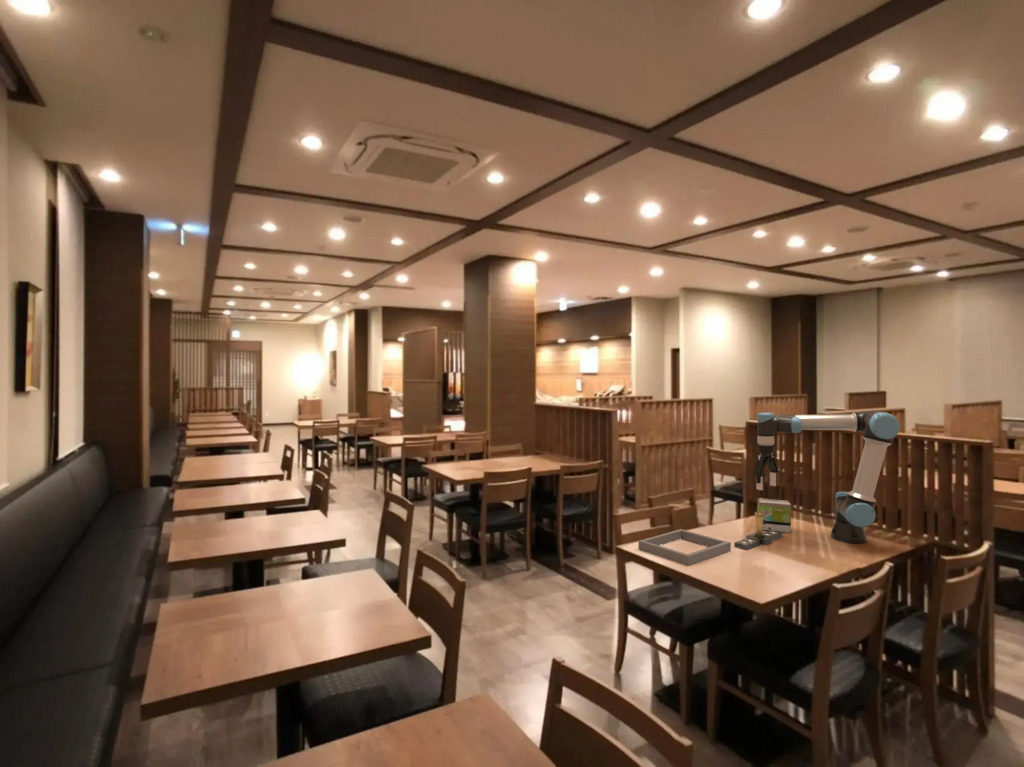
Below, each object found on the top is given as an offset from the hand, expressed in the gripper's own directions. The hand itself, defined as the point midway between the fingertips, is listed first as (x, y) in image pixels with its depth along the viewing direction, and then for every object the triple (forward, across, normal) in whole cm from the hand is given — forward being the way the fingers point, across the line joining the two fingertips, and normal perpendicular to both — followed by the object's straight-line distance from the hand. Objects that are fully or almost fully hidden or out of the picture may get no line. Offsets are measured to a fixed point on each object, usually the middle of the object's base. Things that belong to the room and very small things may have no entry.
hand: (766, 487), depth 275 cm
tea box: (+26, -21, -7) cm, 34 cm away
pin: (+25, +6, -1) cm, 26 cm away
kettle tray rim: (+24, +46, -16) cm, 55 cm away
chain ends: (+25, +6, -1) cm, 26 cm away
